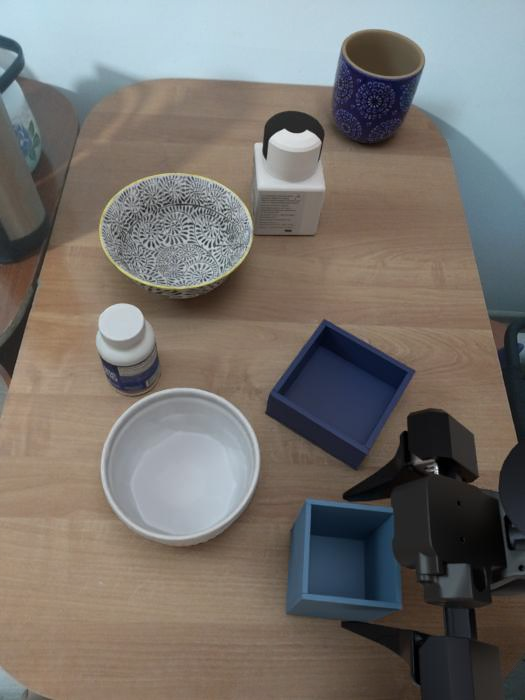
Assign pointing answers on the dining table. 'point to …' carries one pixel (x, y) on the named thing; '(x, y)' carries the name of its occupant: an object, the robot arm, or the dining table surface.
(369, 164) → the dining table surface
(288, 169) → the container
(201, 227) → the bowl
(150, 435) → the ramekin
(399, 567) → the blue bin
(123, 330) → the pill bottle
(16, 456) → the dining table surface
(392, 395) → the navy bin
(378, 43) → the planter
